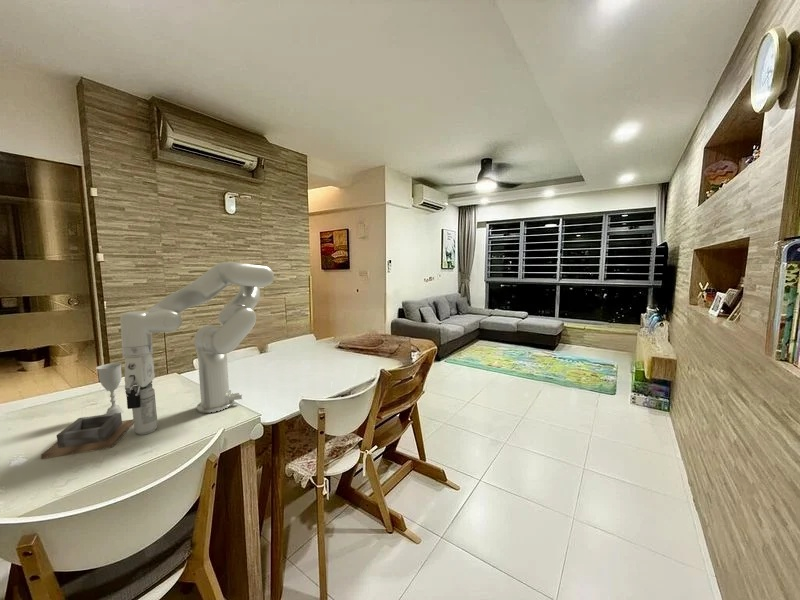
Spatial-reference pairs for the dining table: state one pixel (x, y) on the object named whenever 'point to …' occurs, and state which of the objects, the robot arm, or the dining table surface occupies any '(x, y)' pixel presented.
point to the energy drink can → (145, 412)
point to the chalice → (111, 382)
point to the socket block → (89, 435)
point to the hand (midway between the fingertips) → (140, 401)
